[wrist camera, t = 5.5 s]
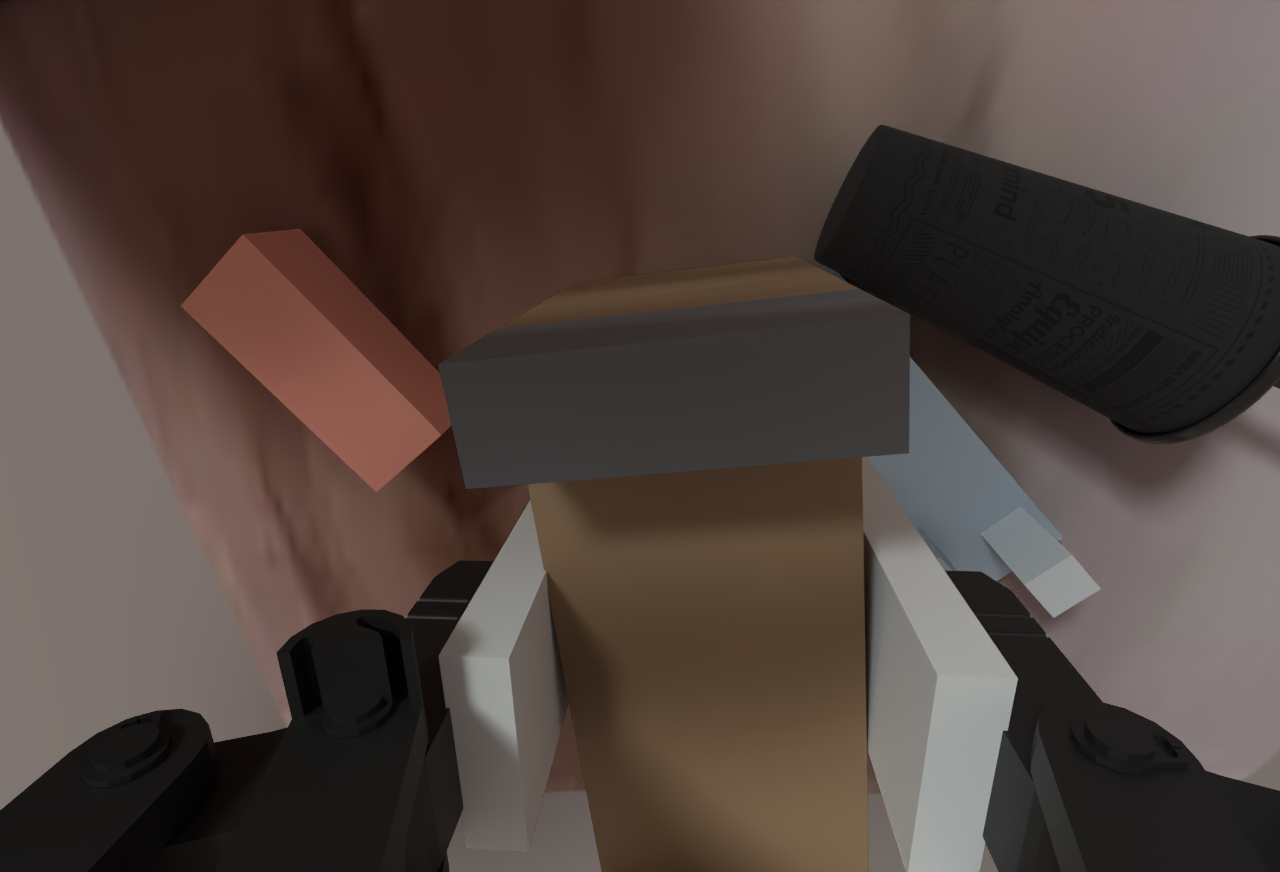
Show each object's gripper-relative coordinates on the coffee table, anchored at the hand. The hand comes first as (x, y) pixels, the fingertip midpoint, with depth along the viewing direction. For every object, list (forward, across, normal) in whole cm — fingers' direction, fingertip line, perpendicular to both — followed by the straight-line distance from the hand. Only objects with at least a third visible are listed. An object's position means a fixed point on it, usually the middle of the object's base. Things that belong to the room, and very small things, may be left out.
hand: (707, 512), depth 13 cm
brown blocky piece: (0, 0, 0) cm, 0 cm away
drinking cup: (+13, +5, +6) cm, 15 cm away
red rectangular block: (+16, -15, 0) cm, 22 cm away
